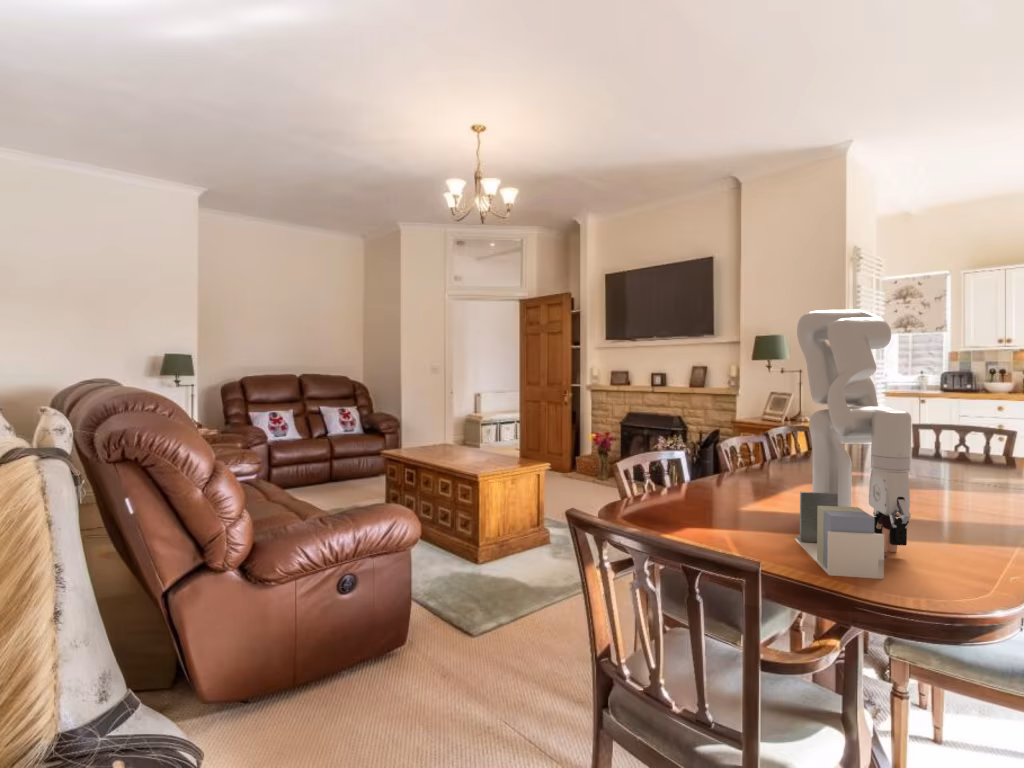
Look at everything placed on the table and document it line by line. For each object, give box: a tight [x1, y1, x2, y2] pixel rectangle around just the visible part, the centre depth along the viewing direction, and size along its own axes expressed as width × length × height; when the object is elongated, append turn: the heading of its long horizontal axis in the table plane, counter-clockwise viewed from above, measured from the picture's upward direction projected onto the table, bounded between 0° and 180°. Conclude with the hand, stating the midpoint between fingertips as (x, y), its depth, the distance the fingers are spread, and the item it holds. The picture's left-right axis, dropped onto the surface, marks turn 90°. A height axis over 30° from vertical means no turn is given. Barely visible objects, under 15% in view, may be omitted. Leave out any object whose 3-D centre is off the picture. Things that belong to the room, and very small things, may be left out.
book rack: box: [794, 531, 885, 580], centre depth 122 cm, size 24×10×10 cm, turn 168°
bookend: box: [796, 491, 838, 543], centre depth 132 cm, size 3×8×12 cm, turn 78°
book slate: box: [824, 511, 875, 569], centre depth 113 cm, size 4×8×12 cm, turn 78°
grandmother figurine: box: [876, 512, 898, 553], centre depth 125 cm, size 8×4×13 cm, turn 21°
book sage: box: [817, 506, 866, 566], centre depth 117 cm, size 4×8×12 cm, turn 78°
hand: (889, 538), depth 126 cm, fingers closed on grandmother figurine, 7 cm apart
